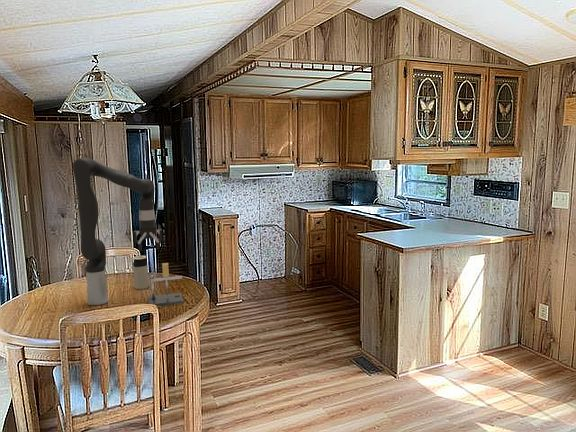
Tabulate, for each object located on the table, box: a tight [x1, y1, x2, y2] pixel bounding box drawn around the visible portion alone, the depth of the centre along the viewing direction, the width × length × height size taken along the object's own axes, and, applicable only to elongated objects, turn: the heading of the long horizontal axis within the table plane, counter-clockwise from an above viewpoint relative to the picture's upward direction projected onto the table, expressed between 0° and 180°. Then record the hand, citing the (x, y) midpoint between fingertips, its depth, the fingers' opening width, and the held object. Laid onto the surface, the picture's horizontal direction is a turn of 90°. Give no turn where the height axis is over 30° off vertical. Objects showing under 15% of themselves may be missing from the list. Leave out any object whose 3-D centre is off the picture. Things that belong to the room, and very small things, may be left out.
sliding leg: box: [161, 262, 170, 296], centre depth 232 cm, size 3×4×18 cm
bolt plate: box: [147, 274, 184, 307], centre depth 232 cm, size 18×14×14 cm
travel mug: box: [132, 255, 150, 290], centre depth 257 cm, size 8×8×18 cm
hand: (149, 250), depth 228 cm, fingers open, 7 cm apart
